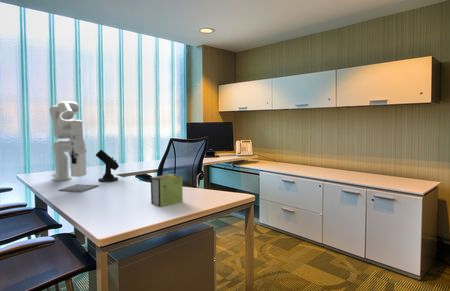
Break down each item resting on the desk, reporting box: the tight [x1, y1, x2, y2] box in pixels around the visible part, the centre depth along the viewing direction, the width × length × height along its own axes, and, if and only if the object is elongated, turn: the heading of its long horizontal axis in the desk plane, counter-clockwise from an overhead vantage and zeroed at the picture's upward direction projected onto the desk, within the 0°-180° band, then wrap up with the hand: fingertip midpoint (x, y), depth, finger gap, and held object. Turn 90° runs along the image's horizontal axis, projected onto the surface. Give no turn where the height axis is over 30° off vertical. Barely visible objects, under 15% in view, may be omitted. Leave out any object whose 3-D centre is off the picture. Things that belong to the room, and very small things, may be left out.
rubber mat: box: [58, 183, 100, 193], centre depth 210 cm, size 18×18×1 cm
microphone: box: [95, 149, 120, 183], centre depth 237 cm, size 15×17×25 cm
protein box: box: [150, 173, 184, 208], centre depth 173 cm, size 10×15×16 cm
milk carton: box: [69, 152, 87, 178], centre depth 208 cm, size 7×7×19 cm
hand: (78, 162), depth 208 cm, fingers closed on milk carton, 7 cm apart
